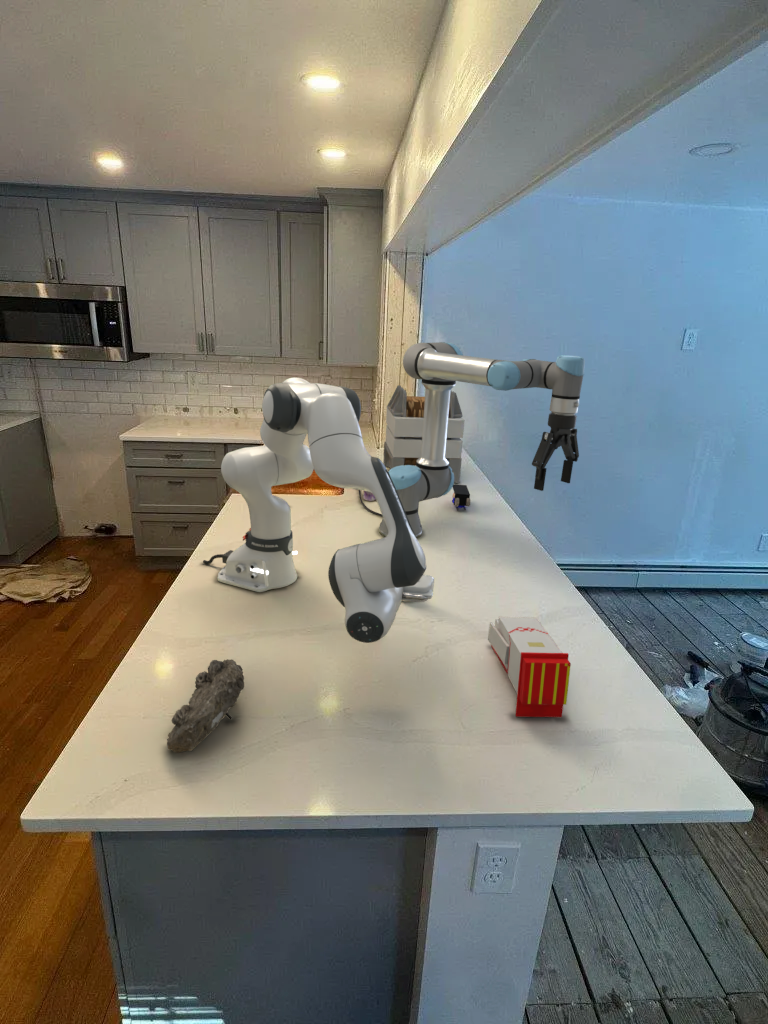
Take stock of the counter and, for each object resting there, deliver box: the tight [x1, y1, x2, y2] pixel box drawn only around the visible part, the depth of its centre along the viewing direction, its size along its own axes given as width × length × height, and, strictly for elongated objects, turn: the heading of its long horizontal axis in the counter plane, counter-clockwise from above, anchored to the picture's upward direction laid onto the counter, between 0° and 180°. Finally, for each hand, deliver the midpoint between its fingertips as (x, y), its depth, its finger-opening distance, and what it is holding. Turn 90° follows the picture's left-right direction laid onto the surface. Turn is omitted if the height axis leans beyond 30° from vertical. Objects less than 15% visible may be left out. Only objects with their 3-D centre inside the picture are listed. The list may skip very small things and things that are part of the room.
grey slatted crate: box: [382, 384, 465, 484], centre depth 268 cm, size 34×33×41 cm
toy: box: [487, 616, 572, 718], centre depth 123 cm, size 12×13×30 cm
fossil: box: [166, 658, 245, 754], centre depth 106 cm, size 22×10×15 cm
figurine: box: [362, 490, 377, 502], centre depth 233 cm, size 9×10×15 cm
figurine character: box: [451, 483, 471, 512], centre depth 229 cm, size 7×8×15 cm
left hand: (393, 570), depth 131 cm, fingers open, 8 cm apart
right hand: (552, 485), depth 166 cm, fingers open, 13 cm apart
